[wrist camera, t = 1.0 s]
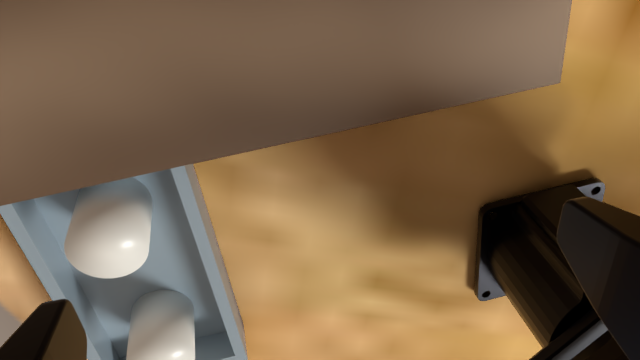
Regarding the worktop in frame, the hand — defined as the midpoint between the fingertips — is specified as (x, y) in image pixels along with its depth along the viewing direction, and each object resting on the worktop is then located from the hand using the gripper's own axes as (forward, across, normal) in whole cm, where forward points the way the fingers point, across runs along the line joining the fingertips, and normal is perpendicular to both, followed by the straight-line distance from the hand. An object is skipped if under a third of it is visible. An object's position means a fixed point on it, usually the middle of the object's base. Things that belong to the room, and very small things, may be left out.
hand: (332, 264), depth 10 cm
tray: (+12, +6, +8) cm, 16 cm away
